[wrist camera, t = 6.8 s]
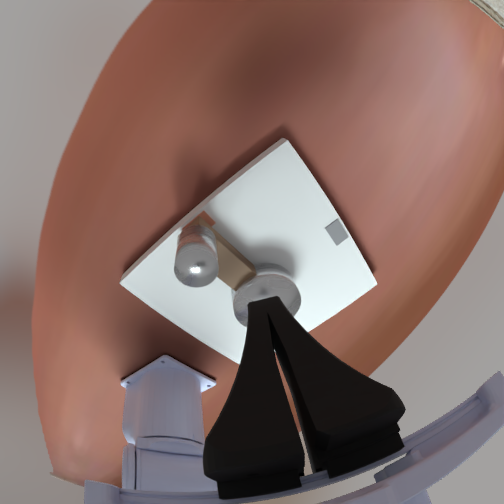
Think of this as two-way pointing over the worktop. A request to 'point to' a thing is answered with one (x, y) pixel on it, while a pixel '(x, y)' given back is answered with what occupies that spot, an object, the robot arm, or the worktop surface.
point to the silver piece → (230, 270)
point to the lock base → (258, 251)
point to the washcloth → (492, 9)
